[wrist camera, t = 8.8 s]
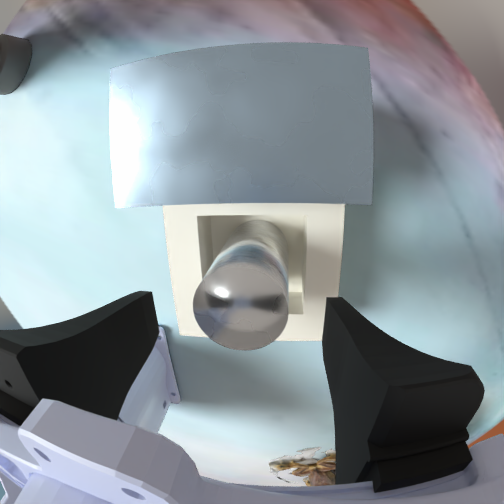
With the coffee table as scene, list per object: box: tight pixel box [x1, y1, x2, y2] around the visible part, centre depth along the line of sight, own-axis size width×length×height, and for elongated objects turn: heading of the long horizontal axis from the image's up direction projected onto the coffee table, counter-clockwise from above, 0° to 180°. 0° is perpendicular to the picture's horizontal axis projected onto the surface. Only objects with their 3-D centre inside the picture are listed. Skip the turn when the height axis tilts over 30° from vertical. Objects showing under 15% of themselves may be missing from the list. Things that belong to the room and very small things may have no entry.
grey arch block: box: [110, 43, 373, 208], centre depth 14 cm, size 6×10×9 cm, turn 92°
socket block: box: [163, 203, 345, 341], centre depth 19 cm, size 10×10×4 cm
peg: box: [193, 220, 289, 350], centre depth 16 cm, size 4×4×8 cm
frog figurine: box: [269, 447, 336, 486], centre depth 28 cm, size 12×12×4 cm
